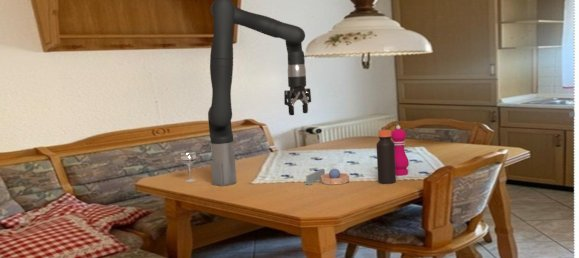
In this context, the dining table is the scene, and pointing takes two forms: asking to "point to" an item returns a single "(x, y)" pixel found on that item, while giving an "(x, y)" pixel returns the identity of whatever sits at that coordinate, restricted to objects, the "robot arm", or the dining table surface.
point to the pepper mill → (400, 151)
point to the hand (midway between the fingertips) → (298, 114)
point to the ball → (334, 173)
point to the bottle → (386, 158)
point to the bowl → (334, 179)
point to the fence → (314, 177)
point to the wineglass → (188, 161)
